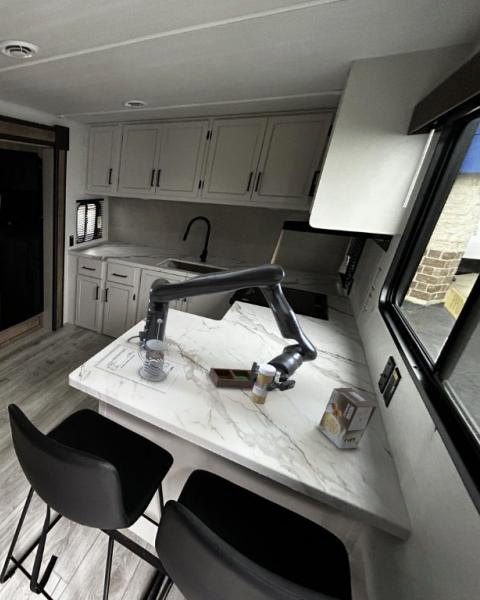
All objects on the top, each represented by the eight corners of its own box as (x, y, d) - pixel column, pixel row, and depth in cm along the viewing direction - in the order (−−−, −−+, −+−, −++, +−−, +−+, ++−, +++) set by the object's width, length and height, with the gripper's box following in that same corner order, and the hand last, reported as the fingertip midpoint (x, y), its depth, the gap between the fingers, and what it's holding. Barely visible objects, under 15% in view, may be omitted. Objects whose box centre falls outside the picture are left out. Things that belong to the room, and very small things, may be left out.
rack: (274, 390, 123) (276, 382, 122) (216, 387, 124) (217, 379, 122) (263, 377, 131) (266, 370, 129) (208, 374, 131) (210, 367, 130)
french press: (159, 384, 124) (168, 327, 114) (132, 374, 129) (139, 319, 120) (167, 372, 131) (176, 318, 122) (141, 363, 137) (148, 310, 128)
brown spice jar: (246, 397, 107) (256, 363, 102) (258, 395, 108) (269, 362, 103) (256, 406, 103) (267, 371, 98) (268, 405, 104) (279, 370, 99)
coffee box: (358, 448, 98) (378, 407, 92) (339, 449, 97) (358, 407, 91) (334, 426, 106) (351, 387, 100) (316, 426, 106) (332, 387, 100)
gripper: (263, 349, 114) (240, 364, 104) (308, 368, 104) (287, 387, 94) (258, 366, 117) (235, 383, 107) (301, 386, 107) (280, 406, 97)
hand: (259, 384), depth 101 cm, fingers closed on brown spice jar, 4 cm apart
